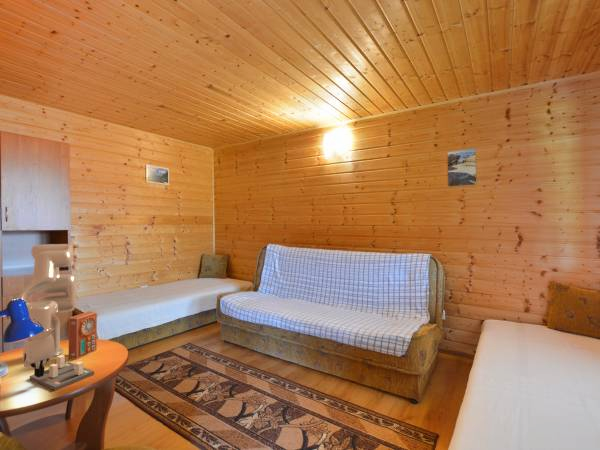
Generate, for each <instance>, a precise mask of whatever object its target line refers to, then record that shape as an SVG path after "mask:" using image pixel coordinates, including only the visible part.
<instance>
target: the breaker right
mask: <svg viewBox="0 0 600 450" xmlns="http://www.w3.org/2000/svg"><path fill="white" fill-rule="evenodd" d="M74 364H75V374H77V375H81V374H83V367H84V362H83V361H81V360H79V361H75V362H74Z"/></svg>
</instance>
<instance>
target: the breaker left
mask: <svg viewBox="0 0 600 450" xmlns="http://www.w3.org/2000/svg"><path fill="white" fill-rule="evenodd" d="M65 363H66V356H65V355H63V354H60V355H58V356H56V364H57V365H58V368H62V367H65Z"/></svg>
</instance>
